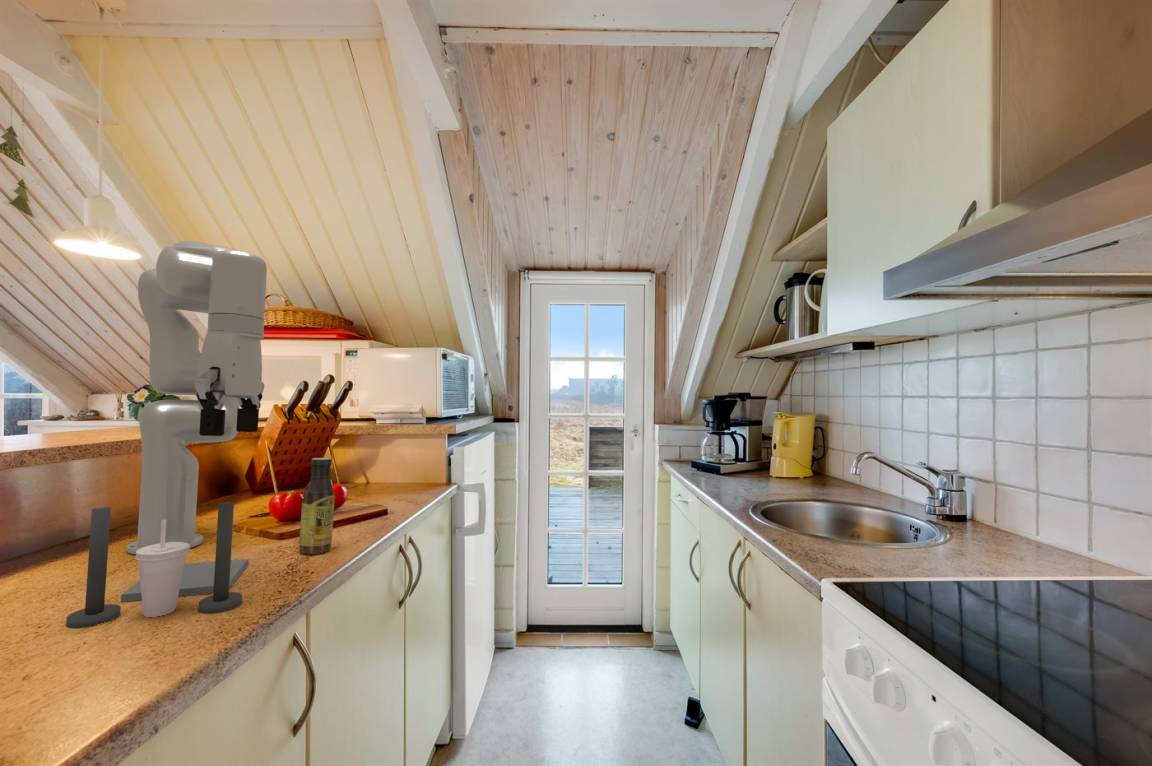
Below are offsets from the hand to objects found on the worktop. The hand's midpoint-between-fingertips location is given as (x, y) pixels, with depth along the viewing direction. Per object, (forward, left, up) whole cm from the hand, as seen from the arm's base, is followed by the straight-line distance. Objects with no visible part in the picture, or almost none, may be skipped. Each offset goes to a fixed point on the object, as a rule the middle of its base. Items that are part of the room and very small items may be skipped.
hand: (230, 433), depth 78 cm
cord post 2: (+1, 0, -27) cm, 27 cm away
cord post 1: (+1, -15, -27) cm, 31 cm away
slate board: (-12, -7, -27) cm, 30 cm away
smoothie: (+1, -7, -27) cm, 28 cm away
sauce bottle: (-25, +11, -27) cm, 38 cm away
